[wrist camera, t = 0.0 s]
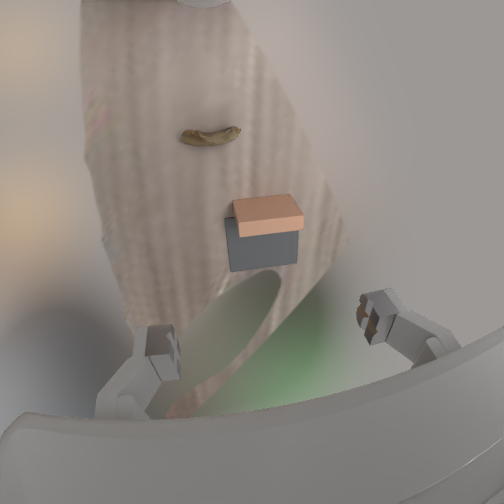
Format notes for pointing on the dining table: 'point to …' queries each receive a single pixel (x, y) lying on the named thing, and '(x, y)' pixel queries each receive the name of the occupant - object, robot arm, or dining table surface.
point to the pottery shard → (210, 137)
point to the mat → (260, 248)
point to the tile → (267, 215)
